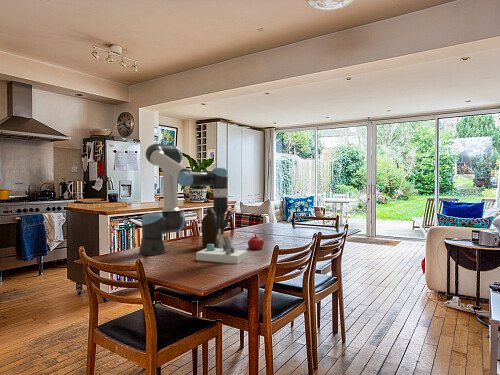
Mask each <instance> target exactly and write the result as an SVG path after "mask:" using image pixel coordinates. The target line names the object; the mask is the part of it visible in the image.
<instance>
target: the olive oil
mask: <svg viewBox="0 0 500 375" xmlns="http://www.w3.org/2000/svg"><path fill="white" fill-rule="evenodd" d="M212 208H213V207H207V208H206V210H207V211H206V214H205V215H204V216H203V217H202V220H201V222H200V223H201V224H200V225H201V238H202V239H201V241H202V242H201V244H202V248H204V249H206V248H207V244H214V248H217V246H216V241H215V240H217V239H218V234H217V228H215V227H214V225H213V221H212V217H211V214H210V212H209V210H211V209H212ZM216 221H217V217H216Z"/></svg>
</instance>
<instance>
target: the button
mask: <svg viewBox="0 0 500 375" xmlns="http://www.w3.org/2000/svg"><path fill="white" fill-rule="evenodd" d="M214 248H215V247H214V244H207V251H214Z"/></svg>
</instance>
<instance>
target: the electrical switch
mask: <svg viewBox="0 0 500 375" xmlns="http://www.w3.org/2000/svg"><path fill="white" fill-rule="evenodd" d="M228 238H229V242H230V245H231V246H232V244H231V239H230V236H229V235H228ZM215 241H216V246H217V247H216V248H219V249H223V245H224V244H225V242H224V239H223V237H222V241H219V237H217V240H215Z"/></svg>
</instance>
